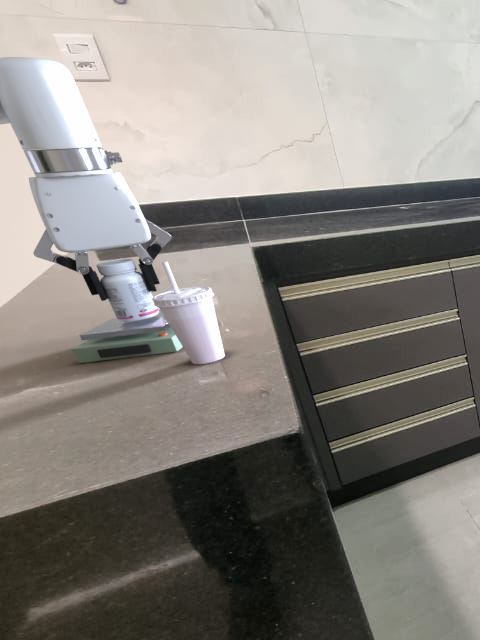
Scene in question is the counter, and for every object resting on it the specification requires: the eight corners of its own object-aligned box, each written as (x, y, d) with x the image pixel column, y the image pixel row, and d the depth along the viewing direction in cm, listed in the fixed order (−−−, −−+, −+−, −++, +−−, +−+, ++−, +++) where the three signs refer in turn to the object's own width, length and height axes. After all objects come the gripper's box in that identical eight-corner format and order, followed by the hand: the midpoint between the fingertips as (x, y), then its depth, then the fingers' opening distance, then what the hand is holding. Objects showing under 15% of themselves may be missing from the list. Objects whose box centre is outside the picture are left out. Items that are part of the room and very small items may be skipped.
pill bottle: (159, 310, 83) (137, 256, 79) (159, 317, 79) (136, 261, 76) (119, 317, 80) (94, 262, 76) (117, 324, 77) (91, 267, 73)
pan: (81, 340, 75) (79, 335, 74) (123, 318, 83) (121, 313, 83) (164, 331, 77) (162, 326, 77) (196, 310, 86) (194, 306, 85)
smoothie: (169, 365, 73) (124, 265, 67) (216, 348, 78) (178, 254, 72) (201, 370, 71) (158, 268, 65) (247, 352, 76) (211, 256, 71)
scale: (76, 364, 74) (68, 348, 73) (127, 334, 85) (121, 320, 84) (176, 352, 77) (169, 336, 76) (213, 325, 88) (207, 311, 87)
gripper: (149, 159, 79) (195, 278, 86) (-22, 168, 68) (48, 303, 75) (155, 159, 74) (204, 285, 81) (-28, 169, 63) (47, 314, 70)
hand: (128, 293), depth 78 cm, fingers closed on pill bottle, 4 cm apart
